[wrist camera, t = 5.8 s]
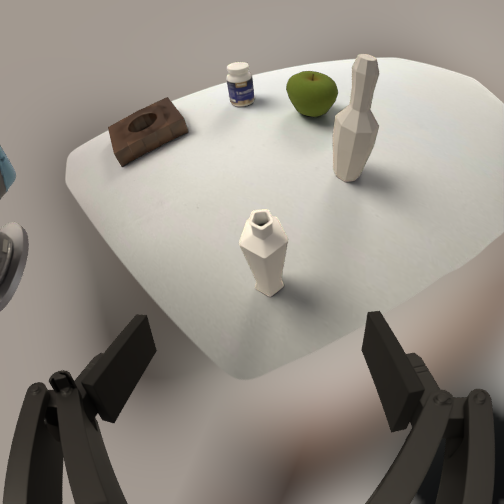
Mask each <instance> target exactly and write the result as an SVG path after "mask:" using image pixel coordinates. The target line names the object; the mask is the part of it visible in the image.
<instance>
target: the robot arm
mask: <svg viewBox="0 0 504 504" xmlns="http://www.w3.org/2000/svg"><path fill="white" fill-rule="evenodd" d="M15 178H16V173H15V171H14V168H13V166H12V165H11V163H10V161H9V160H8V158H7V156H6V154H5V153H4V151H3V149H2V148H1V146H0V199H1V197H2V196H3V195H4V194H5V193H6V192H7V191H8V189H9V187H10V186H11V185H12V183H13V182H14V181H15ZM12 254H13V242H12V239H11V238H10V237H9V236H8V235H7V234H5V233H3V232H0V285H1V284H2V282H3V280H4V278H5V276H6V274H7V272H8V269H9V266H10V263H11V259H12ZM362 352H363V355H364V357H365V360H366V363H367V365H368V368H369V370H370V373H371V375H372V378H373V381H374V384H375V386H376V389H377V392H378V395H379V397H380V400H381V403H382V406H383V409H384V412H385V415H386V417H387V420H388V423H389V427H390V430H391V432H395V431H399V430H404V429H406V428H407V426H408V424H409V422H410V423H411V425H412V429H411V431H410V433H409V435H408V437H407V438H406V441H405V443H404V445H403V446H402V448H401V450H400V452H399V453H398V455H397V457H396V459H395V460H394V462H393V464H392V465H391V467H390V468H389V470H388V472H387V473H386V475H385V477H384V478H383V479H382V481H381V483H380V484H379V485H378V487H377V488H376V490H375V491H374V492H373V494H372V495H371V497H370V498H369V499H368V501H367V502H366V503H365V504H410V503H411V501H412V500H413V498H414V496H415V494H416V493H417V491H418V489H419V487H420V485H421V483H422V481H423V479H424V477H425V475H426V473H427V471H428V469H429V467H430V465H431V463H432V460H433V458H434V456H435V453H436V451H437V449H438V446H439V444H440V442H441V439H442V438H446V446H445V454H444V463H443V469H442V475H441V481H440V486H439V491H438V495H437V500H436V504H492V497H493V488H494V472H495V437H494V421H493V410H492V401H491V397H490V395H489V394H488V393H487V392H486V391H485V390H482V389H474V390H473V391H471V392H470V394H469V395H468V397H462V398H455V397H453V396H452V395H451V394H450V393H449V392H447V391H445V390H440V388H439V387H438V385H437V383H436V381H435V380H434V378H433V376H432V375H431V373H430V372H429V370H428V368H427V366H425V363H424V362H423V360H422V358H421V357H419V356H418V355H416V354H415V353H410V354H405V352H404V350H403V349H402V347H401V345H400V343H399V342H398V340H397V338H396V337H395V335H394V333H393V332H392V330H391V328H390V327H389V325H388V323H387V322H386V321H385V319H384V317H383V315H382V314H381V312H380V311H374V312H368V314H367V320H366V327H365V334H364V339H363V345H362ZM155 353H156V347H155V343H154V340H153V336H152V333H151V329H150V325H149V322H148V318H147V315H136V316H135V317H134V318H133V319H132V320H131V322H130V323H129V324H128V325H127V326H126V327H125V329H124V330H123V331H122V332H121V333H120V335H119V336H118V337H117V338H116V339H115V341H114V342H113V343H112V344H111V345H110V346H109V348H108V349H107V350H106V351H105V353H100V354H99V355H97V356H96V357H94V358H93V359H92V360H91V361H90V363H89V364H88V365H87V366H86V368H85V369H84V370H83V371H82V372H81V374H80V375H79V376H78V377H77V378H76V380H75V381H74V380H73V378H72V376H71V374H70V373H69V372H67V371H64V370H63V371H58V372H56V373H54V374H53V375H52V376H51V377H50V379H49V382H50V384H51V386H52V388H53V389H54V390H48V389H47V388H46V386H45V385H44V384H43V383H40V382H38V383H34V384H32V385H31V386H30V387H29V388H28V390H27V392H26V395H25V398H24V401H23V405H22V408H21V411H20V415H19V418H18V421H17V425H16V429H15V433H14V437H13V441H12V445H11V450H10V455H9V460H8V466H7V472H6V479H5V487H4V496H3V504H62V477H63V476H62V475H63V458H64V461H65V466H66V471H67V475H68V479H69V483H70V487H71V491H72V494H73V498H74V501H75V504H127V501H126V499H125V497H124V495H123V493H122V490H121V488H120V486H119V483H118V481H117V478H116V476H115V473H114V471H113V468H112V465H111V463H110V460H109V457H108V454H107V451H106V449H105V445H104V442H103V439H102V436H101V432H100V429H99V426H98V422H97V420H96V418H95V416H96V415H97V413H98V414H99V415H100V417H101V419H102V420H104V421H107V422H111V423H115V421H116V419H117V418H118V416H119V414H120V412H121V410H122V409H123V407H124V405H125V404H126V402H127V400H128V398H129V397H130V395H131V393H132V391H133V390H134V388H135V386H136V384H137V383H138V381H139V380H140V378H141V376H142V374H143V373H144V371H145V369H146V368H147V366H148V364H149V363H150V361H151V359H152V357H153V356H154V354H155ZM44 420H45V421H44Z"/></svg>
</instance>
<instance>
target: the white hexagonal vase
mask: <svg viewBox="0 0 504 504" xmlns="http://www.w3.org/2000/svg"><path fill="white" fill-rule="evenodd" d="M287 244H288V237H287V235H286V233H285V231H284V229H283V227H282V226H281V224H280V222H279V220H278V218H277V217H272V215H271V213H270V211H269V210H267V209H263V210H254V211H252V213H251V216H250V219H248V220H247V221H246V224H245V227H244V229H243V232H242V235H241V238H240V241H239V245H240V247H241V249H242V251H243V254H244V256H245V258H246V260H247V262H248V265H249V267H250V269H251V271H252V273H253V276H254V278H255V280H256V284H255V289H257V290H258V291H260V292H262V293H263V294H265V295H267V296H269V297H271V296H273V295H274V294H275V293H276V292H278V291H279V290H280V289H281V288H283V287H284V283H283V281H282V279H281V278H282V273H283V267H284V261H285V256H286V250H287Z"/></svg>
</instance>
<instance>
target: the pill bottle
mask: <svg viewBox="0 0 504 504" xmlns="http://www.w3.org/2000/svg"><path fill="white" fill-rule="evenodd" d="M248 70H249V66H248V64H247V63H244V62H236V63H232V64H229V65H228V66H227V72H228V73H229V74H228V75H227V85H228V91H229V97H230V102H231V104H232V105H234V106H239V107H241V106H247V105H250V104H251V103H253V102H254V89H253V80H252V74H251V73H250V72H249V71H248Z"/></svg>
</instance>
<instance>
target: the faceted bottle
mask: <svg viewBox="0 0 504 504" xmlns="http://www.w3.org/2000/svg"><path fill="white" fill-rule="evenodd" d="M378 76H379V69H378V63H377V59H376V58H374V57H373V56H370V55H368V54H359V55H358V56H357V58H356V60H355V62H354V64H353V66H352V89H351V97H350V104H349V105H348V106H347V107H346V108H344V109H343V110H342V111H341V112H339V113H338V114H337V115H335V122H334V130H333V170H334V172H335V174H336V176H337V177H338V178H340V179H341V180H343V181H344V182H350V181H355V180H356V179H357V178H358V177H359V176H360V175H361V173H362V171H363V168H364V166H365V164H366V162H367V160H368V158H369V156H370V154H371V152H372V149H373V147H374V144H375V140H376V136H377V133H378V129H379V125H378V123H377V121H376V119H375V117H374V116H373V114H372V112H371V110H370V108H371V103H372V98H373V93H374V89H375V86H376V83H377V80H378Z"/></svg>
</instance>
